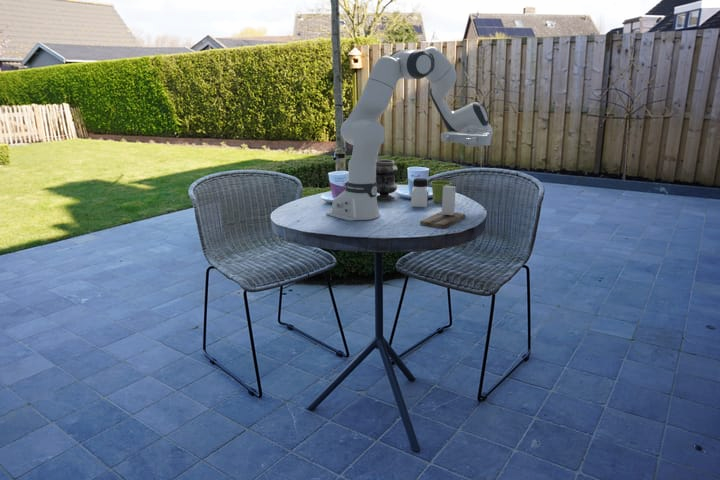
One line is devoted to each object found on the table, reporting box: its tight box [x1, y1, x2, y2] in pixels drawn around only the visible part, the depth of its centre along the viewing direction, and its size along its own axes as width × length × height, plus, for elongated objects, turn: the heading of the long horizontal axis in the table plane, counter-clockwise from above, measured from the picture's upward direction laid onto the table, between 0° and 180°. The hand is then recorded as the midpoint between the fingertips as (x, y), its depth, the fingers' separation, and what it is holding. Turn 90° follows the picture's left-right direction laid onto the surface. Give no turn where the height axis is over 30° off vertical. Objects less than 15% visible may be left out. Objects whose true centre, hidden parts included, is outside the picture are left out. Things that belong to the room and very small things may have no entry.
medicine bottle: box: [410, 177, 429, 208], centre depth 220 cm, size 7×7×12 cm
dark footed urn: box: [376, 159, 398, 202], centre depth 231 cm, size 12×12×18 cm
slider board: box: [419, 211, 466, 230], centre depth 195 cm, size 10×19×2 cm, turn 145°
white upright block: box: [441, 185, 457, 215], centre depth 196 cm, size 4×3×11 cm
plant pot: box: [430, 180, 452, 204], centre depth 227 cm, size 9×9×9 cm
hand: (457, 140), depth 200 cm, fingers open, 8 cm apart
